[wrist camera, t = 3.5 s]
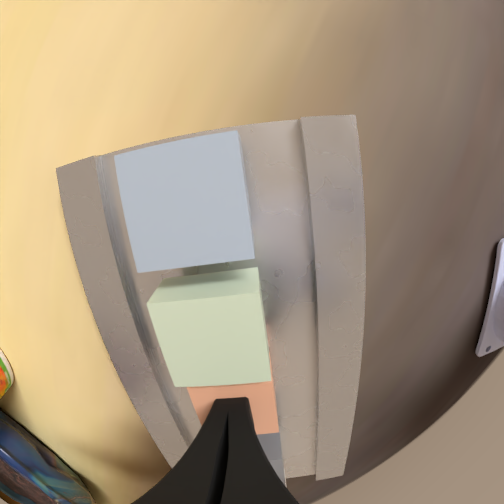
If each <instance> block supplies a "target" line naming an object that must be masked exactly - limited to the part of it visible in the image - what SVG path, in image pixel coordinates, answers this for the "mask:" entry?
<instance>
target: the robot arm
mask: <svg viewBox="0 0 504 504" xmlns="http://www.w3.org/2000/svg"><path fill="white" fill-rule="evenodd" d="M503 346H504V238H503V239H501V240H500V242H499V244H498V247H497V255H496V262H495V269H494V275H493V281H492V287H491V292H490V297H489V302H488V306H487V311H486V315H485V319H484V323H483V327H482V330H481V334H480V338H479V341H478V344H477V348H476V352H475V353H476V355H477V356H478V357H481V356H484V355H486V354H488V353H490V352H493V351H495V350H497V349H499V348H501V347H503ZM131 504H299V503H298V502H297V501H296V499H295V498H294V497H293V496H292V495H291V493H290V492H289V491H288V489H287V488H286V487H285V485H284V484H283V482H282V481H281V480H280V478H279V477H278V475H277V474H276V472H275V470H274V469H273V467H272V465H271V464H270V462H269V460H268V458H267V456H266V454H265V452H264V450H263V448H262V446H261V444H260V442H259V439H258V437H257V434H256V432H255V427H254V421H253V417H252V412H251V407H250V403H249V398H247V397H237V398H220V399H216V400H215V401H214V403H213V405H212V407H211V410H210V412H209V414H208V416H207V418H206V420H205V422H204V423H203V425H202V427H201V429H200V430H199V432H198V434H197V436H196V437H195V439H194V440H193V442H192V443H191V445H190V446H189V448H188V449H187V451H186V452H185V453H184V455H183V456H182V457H181V459H180V460H179V461H178V462H177V463H176V465H175V466H174V467H173V468H172V469H171V470H170V471H169V472H168V473H167V474H166V476H165V477H164V478H163V479H162V480H161V481H159V482H158V483H157V484H156V485H155V486H154V487H153V488H151V489H150V490H149V491H148V492H147V493H145V494H144V495H143V496H141V497H140V498H139V499H137V500H136V501H134V502H133V503H131Z"/></svg>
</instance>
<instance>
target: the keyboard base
mask: <svg viewBox="0 0 504 504" xmlns="http://www.w3.org/2000/svg"><path fill="white" fill-rule="evenodd" d="M235 130H237V131H238V133H239V135H240V139H241V146H242V153H243V160H244V168H245V175H246V182H247V189H248V197H249V204H250V211H251V219H252V226H253V234H254V247H255V259H248V260H240V261H232V262H224V263H216V264H208V265H200V266H191V267H183V268H175V269H167V270H158V271H150V272H142V273H138V272H137V268H136V264H135V260H134V256H133V252H132V248H131V244H130V239H129V235H128V231H127V226H126V221H125V216H124V211H123V206H122V201H121V196H120V190H119V185H118V179H117V173H116V166H115V160H114V156H115V155H118V154H122V153H126V152H130V151H134V150H138V149H142V148H146V147H150V146H154V145H159V144H163V143H168V142H173V141H177V140H182V139H187V138H193V137H198V136H204V135H210V134H216V133H222V132H228V131H235ZM56 172H57V179H58V185H59V191H60V196H61V202H62V207H63V212H64V216H65V221H66V225H67V230H68V234H69V238H70V242H71V246H72V250H73V253H74V257H75V261H76V264H77V268H78V271H79V274H80V277H81V281H82V284H83V287H84V290H85V293H86V296H87V299H88V302H89V305H90V308H91V310H92V313H93V316H94V319H95V321H96V324H97V326H98V329H99V331H100V334H101V336H102V339H103V341H104V344H105V346H106V349H107V351H108V353H109V355H110V358H111V360H112V362H113V364H114V367H115V369H116V371H117V373H118V375H119V377H120V379H121V381H122V384H123V386H124V388H125V390H126V392H127V394H128V396H129V397H130V399H131V401H132V403H133V405H134V407H135V409H136V411H137V412H138V414H139V416H140V418H141V420H142V421H143V423H144V425H145V427H146V428H147V430H148V432H149V433H150V435H151V437H152V438H153V440H154V442H155V443H156V445H157V447H158V448H159V450H160V451H161V453H162V454H163V456H164V457H165V459H166V461H167V462H168V464H169V465H170V467H171V468H173V467H174V466H175V465H176V463H177V462H178V461H179V460H180V459H181V457H182V456H183V455H184V453H185V452H186V451H187V449H188V448H189V446H190V445H191V443H192V442H193V440H194V439H195V437H196V436H197V434H198V432H199V430H200V429H201V427H202V426H201V423H200V421H199V418H198V416H197V413H196V411H195V408H194V406H193V403H192V401H191V398H190V395H189V393H188V390H187V387H175V386H174V383H173V381H172V378H171V375H170V373H169V370H168V367H167V365H166V362H165V359H164V356H163V353H162V351H161V348H160V345H159V342H158V339H157V336H156V333H155V330H154V327H153V324H152V320H151V317H150V314H149V311H148V307H147V302H148V301H149V299H150V298H151V296H152V295H153V293H154V292H155V290H156V289H157V287H158V286H159V284H160V283H161V281H162V280H163V279H164V278H171V277H180V276H188V275H197V274H205V273H214V272H222V271H230V270H239V269H247V268H255V267H258V271H259V278H260V286H261V293H262V301H263V308H264V316H265V323H266V331H267V339H268V346H269V352H270V357H271V365H272V372H273V380H274V388H275V396H276V404H277V415H278V426H279V431H280V439H281V447H282V455H283V463H284V470H285V478H292V477H300V476H307V475H313V474H315V479H316V480H322V479H327V478H332V477H337V476H342V475H343V473H344V469H345V464H346V459H347V454H348V449H349V444H350V438H351V433H352V427H353V421H354V414H355V408H356V400H357V393H358V385H359V376H360V367H361V356H362V344H363V330H364V313H365V282H366V242H365V212H364V194H363V180H362V168H361V157H360V148H359V139H358V131H357V123H356V116H355V115H332V116H312V117H300V118H299V119H298V120H286V121H275V122H266V123H257V124H249V125H241V126H234V127H228V128H221V129H215V130H209V131H203V132H198V133H192V134H187V135H182V136H177V137H172V138H168V139H163V140H159V141H154V142H150V143H146V144H142V145H138V146H134V147H130V148H126V149H122V150H119V151H115V152H112V153H108V154H105V155H97V156H92V157H88V158H85V159H82V160H79V161H76V162H73V163H70V164H67V165H64V166H62V167H59V168H56Z"/></svg>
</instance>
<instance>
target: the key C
mask: <svg viewBox="0 0 504 504" xmlns="http://www.w3.org/2000/svg"><path fill="white" fill-rule="evenodd" d="M269 357H270V352H269ZM270 369H271V381H267V382H257V383H246V384H234V385H218V386H196V387H187V390H188V393H189V395H190V398H191V401H192V403H193V406H194V408H195V411H196V413H197V416H198V418H199V421H200V423H201V426H202V425H203V423H204V422H205V420H206V418H207V416H208V414H209V412H210V410H211V407H212V405H213V403H214V401H215V400H216V399H220V398H237V397H247V398H249V403H250V407H251V412H252V417H253V421H254V427H255V432H256V434H268V433H278V432H279V426H278V415H277V404H276V396H275V388H274V380H273V372H272V365H271V357H270Z"/></svg>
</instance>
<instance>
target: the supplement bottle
mask: <svg viewBox="0 0 504 504" xmlns="http://www.w3.org/2000/svg"><path fill="white" fill-rule="evenodd" d="M13 380H14V377H13V372H12V369H11V366H10V364H9V362H8V360H7V358H6V356H5V355H4V353H3V352H2V350H1V349H0V399H1V398H2V396H3V395H4V394H5V393H6V392H7V390H8V389H9V388H10V387H11V385H12V384H13Z"/></svg>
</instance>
